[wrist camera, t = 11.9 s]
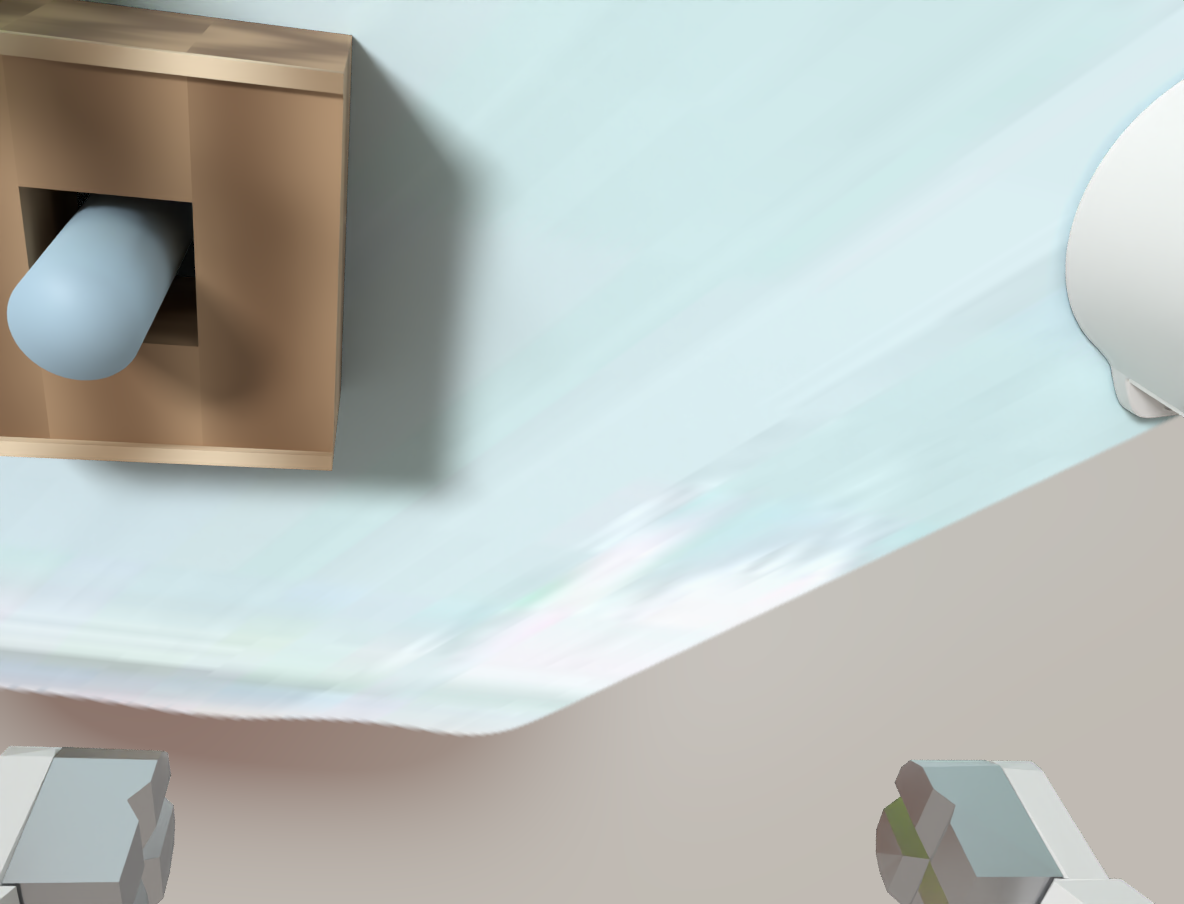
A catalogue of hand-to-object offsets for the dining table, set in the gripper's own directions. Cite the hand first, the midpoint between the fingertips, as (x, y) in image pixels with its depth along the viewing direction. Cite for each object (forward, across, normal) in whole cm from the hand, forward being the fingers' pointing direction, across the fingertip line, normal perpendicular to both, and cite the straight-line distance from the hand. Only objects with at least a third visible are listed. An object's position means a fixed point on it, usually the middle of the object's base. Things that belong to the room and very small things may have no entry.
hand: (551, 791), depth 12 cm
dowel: (+31, +12, +5) cm, 34 cm away
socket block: (+31, +12, +5) cm, 34 cm away
